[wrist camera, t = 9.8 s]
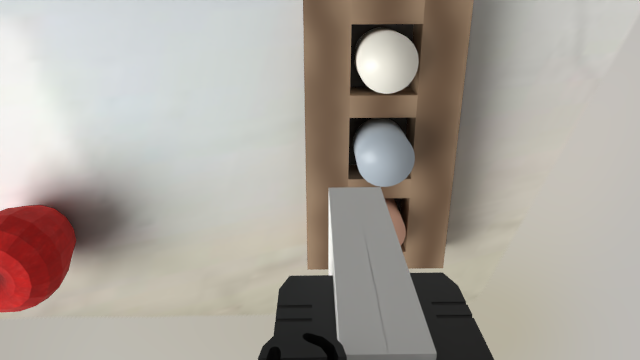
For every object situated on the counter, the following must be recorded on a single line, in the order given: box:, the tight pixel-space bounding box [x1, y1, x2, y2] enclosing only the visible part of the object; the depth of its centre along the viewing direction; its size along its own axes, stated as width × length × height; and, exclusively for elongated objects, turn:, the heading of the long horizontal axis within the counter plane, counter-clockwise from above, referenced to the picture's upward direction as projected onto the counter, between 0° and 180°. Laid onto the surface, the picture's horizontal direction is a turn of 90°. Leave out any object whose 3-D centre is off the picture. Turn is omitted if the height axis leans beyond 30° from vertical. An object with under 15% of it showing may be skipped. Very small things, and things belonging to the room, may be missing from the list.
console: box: [303, 0, 474, 269], centre depth 44 cm, size 14×26×4 cm, turn 0°
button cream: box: [353, 27, 419, 94], centre depth 40 cm, size 5×5×5 cm
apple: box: [0, 205, 76, 312], centre depth 45 cm, size 10×10×11 cm
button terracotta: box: [384, 198, 406, 246], centre depth 46 cm, size 5×5×5 cm
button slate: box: [353, 118, 415, 187], centre depth 42 cm, size 5×5×5 cm
